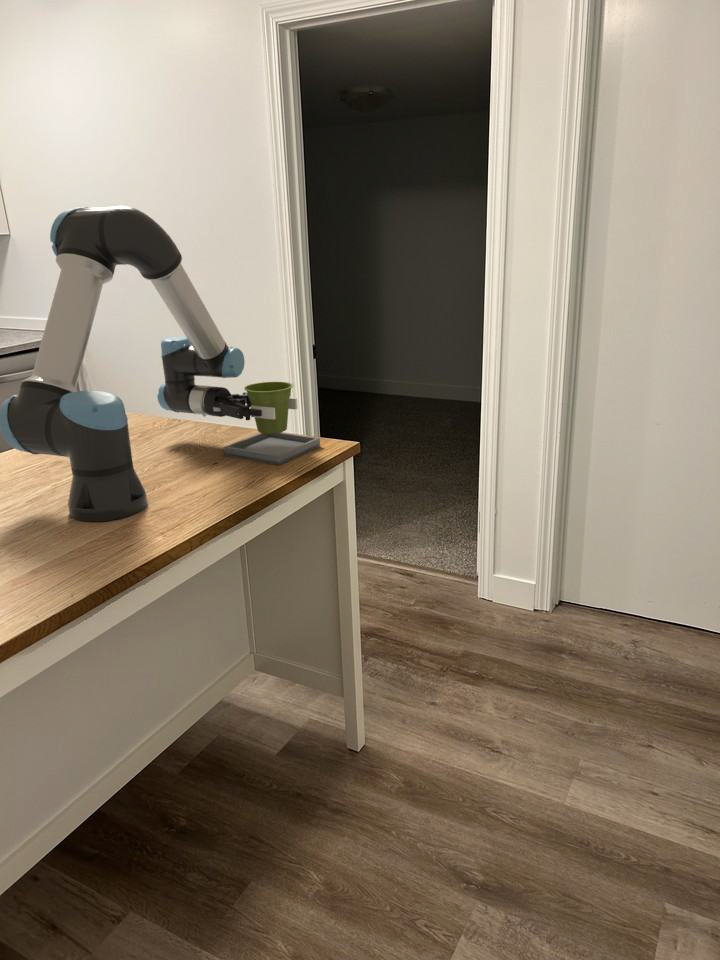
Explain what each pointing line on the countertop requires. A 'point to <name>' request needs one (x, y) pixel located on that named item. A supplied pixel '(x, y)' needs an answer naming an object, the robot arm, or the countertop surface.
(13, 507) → the countertop surface
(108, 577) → the countertop surface
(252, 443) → the tray
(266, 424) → the plant pot
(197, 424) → the countertop surface
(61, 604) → the countertop surface
